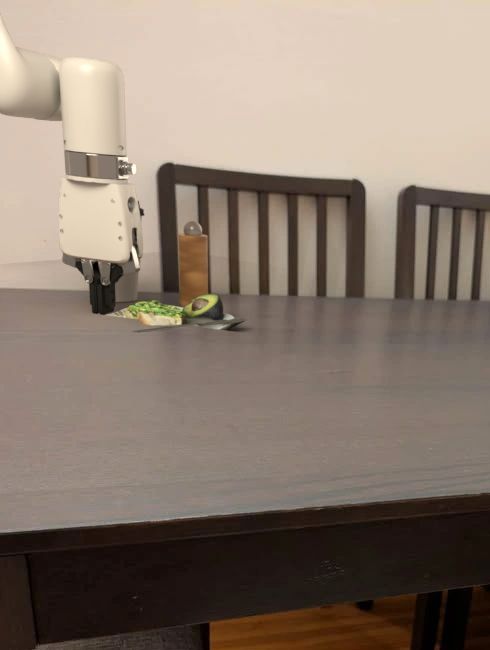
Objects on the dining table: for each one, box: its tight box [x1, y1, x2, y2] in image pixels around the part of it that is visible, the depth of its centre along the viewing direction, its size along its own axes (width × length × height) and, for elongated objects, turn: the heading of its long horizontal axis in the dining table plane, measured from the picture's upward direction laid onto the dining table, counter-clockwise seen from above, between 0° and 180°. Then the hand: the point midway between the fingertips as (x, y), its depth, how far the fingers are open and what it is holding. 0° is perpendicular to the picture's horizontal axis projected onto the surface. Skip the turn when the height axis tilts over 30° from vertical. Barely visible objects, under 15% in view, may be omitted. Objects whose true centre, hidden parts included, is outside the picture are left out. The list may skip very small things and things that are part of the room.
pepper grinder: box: [177, 220, 209, 308], centre depth 113 cm, size 4×4×13 cm
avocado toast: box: [106, 293, 247, 333], centre depth 98 cm, size 19×18×5 cm
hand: (103, 312), depth 101 cm, fingers closed
